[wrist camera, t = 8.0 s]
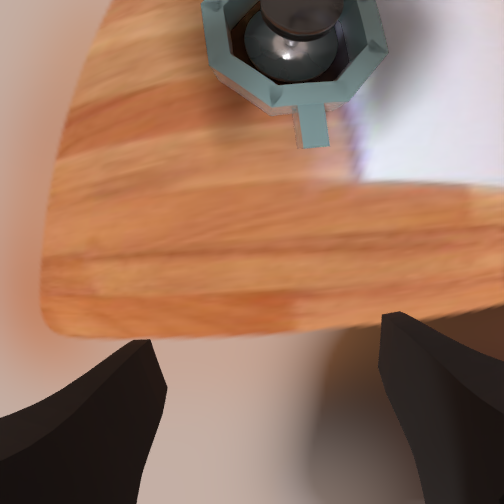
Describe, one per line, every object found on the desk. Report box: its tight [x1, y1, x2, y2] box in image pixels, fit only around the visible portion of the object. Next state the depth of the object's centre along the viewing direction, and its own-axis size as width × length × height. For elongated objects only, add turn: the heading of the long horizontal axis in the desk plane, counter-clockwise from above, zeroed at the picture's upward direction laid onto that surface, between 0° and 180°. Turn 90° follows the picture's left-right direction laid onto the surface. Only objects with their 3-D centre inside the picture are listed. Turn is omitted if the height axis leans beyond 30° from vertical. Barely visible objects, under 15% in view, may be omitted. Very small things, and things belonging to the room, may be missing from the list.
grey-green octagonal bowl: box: [201, 0, 388, 149], centre depth 14 cm, size 8×10×4 cm
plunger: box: [244, 0, 344, 83], centre depth 12 cm, size 5×5×6 cm
